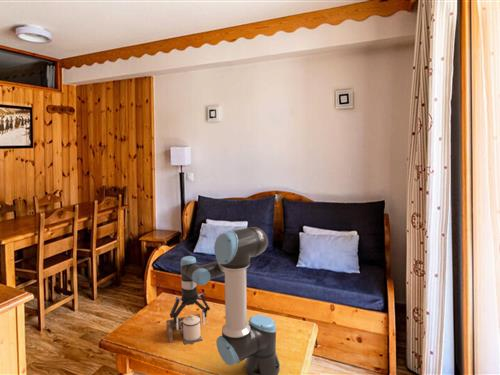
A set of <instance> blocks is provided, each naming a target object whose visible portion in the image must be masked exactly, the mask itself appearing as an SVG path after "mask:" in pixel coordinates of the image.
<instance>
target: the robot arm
mask: <svg viewBox="0 0 500 375" xmlns="http://www.w3.org/2000/svg"><path fill="white" fill-rule="evenodd" d="M268 245H269V239H268V236H267V234H266V233H265V231H264V230H263V229H261V228H259V227H257V226H249V227H244V228H240V229H235V230H228V231H225V232H222V233H220V234H219V235H218V236H217V237H216V239H215V241H214V247H213V252H214V255H215V259H216V261H214V262H209V263H206V264H203V265H198V264H197V259H196V257H195V256H193V255H188V256H187V255H186V256H183V257H182V258H181V259H180V278H181V297H178V296H177V297H175V301H174V304H173V307H172V309H171V311H170V313H169V317H170V318H171V319H174V324H176V329H177V331H180V330H179V328H178V318H179V317H178V316H179V315H180V313H181V312H182V311H183V310H184V308H185V307H186V306H192V305H194V304H195V305H196V306H198V307H199V308H200V309H201V320H202V321H201V324H203V325H205V324H206V318H207V316H208V315H207V313H208V311H210V310H211V308H210V307H209V304H208V303H207V302H206V300H205V298H204V294H203V292H200V293H199V294H198V288H197V286H198V285H199V286H205V285H206V284H208V283H209V282H210V280H213V279H216V278H219V277H223V276H224V300H225V302H224V303H225V304H224V306H225V307H224V308H225V310H224V311H225V324H223V325H222V327H221V335H219V336H218V337H216V342H215V344H216V348H217V352H218V353H219V356H220V357H221V360H222V361H223V362H224V363H226V365H228V366H233V365H236V364H239V363H240V362H242V361H244V360H246V361H245V365H244V366H245V367H244V368H245V372H246V374H247V375H278V374H279V373H280V369H281V366H280V365H281V364H280V360H279V358H278V354H277V351H276V350H277V348H276V346H277V343H276V342H277V328H276V325H277V324H276V322H275V320H274V319H273V318H272V317H270V316H267V315H263V314H255V315H252V316H250V317H249V320H248V314H247V312H248V310H247V303H248V302H247V268H249V266H250V265H251V258H252V257H258V256H259V255H261V254H262V253H264V252H265V251H266V250H267V248H268ZM198 299H200V300H201V301H202V303H203V304H204V305H202V304H201V303H200V302H199V300H198ZM181 301H182V302H181ZM180 302H181V303H180ZM179 304H180V305H179ZM247 321H248V322H247Z"/></svg>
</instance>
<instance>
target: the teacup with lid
mask: <svg viewBox="0 0 500 375" xmlns="http://www.w3.org/2000/svg"><path fill="white" fill-rule="evenodd" d="M184 317H185V318H184V319H183V320H182V321H180V327H181V329H182V330H183V336H184V339H185V340H188V341H194V340H197V339H198V338H199V337H200V336H201V325H200V320H201V317H200V318H199V317H198V316H196V314H189V315H187V317H186V316H184ZM182 322H183V326H182Z"/></svg>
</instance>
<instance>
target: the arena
mask: <svg viewBox="0 0 500 375" xmlns="http://www.w3.org/2000/svg"><path fill="white" fill-rule="evenodd" d="M195 315H196V316H198V317H199V318H200V326H201V324H202V321H201V320H202V319H201V313H197V314H195ZM187 316H188V315H187ZM187 316H182V317H178V328H179V330H177V329H176V324H174V318H171V319H168V320H165V321H166V323H165V324H166V326H165V327H166V333H167V338H168V341H169V344H171V343H173V342H174V339H173V338H174V335H173V332H176V331H179V332H180V335H181V336H180V337H181V338H182V341H183V344H184V345H185V346H186V345H189V344H193V343H197V342H202V341H203V338H202V337H201V335H200V337H199V338H198V339H197V340H194V341H188V340H185V339H184V336H183V330H182V329H181V327H180V321H182V320H183V319H184V318H185V317H187ZM182 326H183V322H182Z"/></svg>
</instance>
